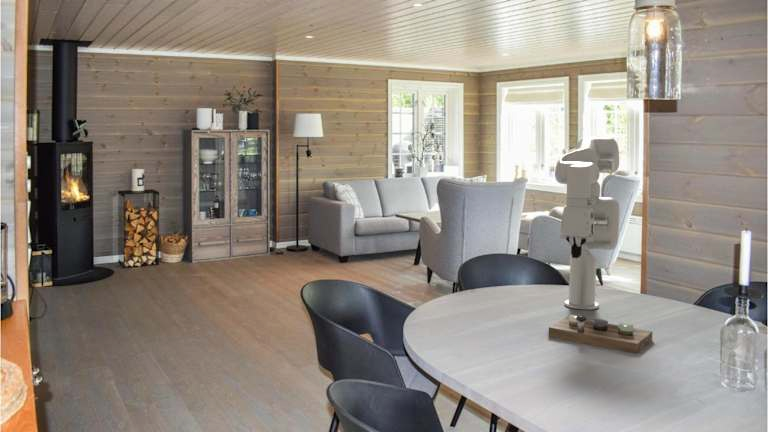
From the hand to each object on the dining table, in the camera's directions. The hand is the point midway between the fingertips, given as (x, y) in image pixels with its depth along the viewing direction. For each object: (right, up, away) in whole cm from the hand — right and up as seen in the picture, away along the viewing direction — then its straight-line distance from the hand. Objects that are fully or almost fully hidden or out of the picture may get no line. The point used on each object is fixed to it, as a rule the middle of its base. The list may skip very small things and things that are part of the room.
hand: (576, 257), depth 232 cm
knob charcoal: (+5, -25, -9) cm, 27 cm away
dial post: (-2, -23, -12) cm, 26 cm away
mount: (+5, -25, -9) cm, 27 cm away
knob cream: (-1, -24, -4) cm, 25 cm away
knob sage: (+12, -26, -13) cm, 31 cm away
